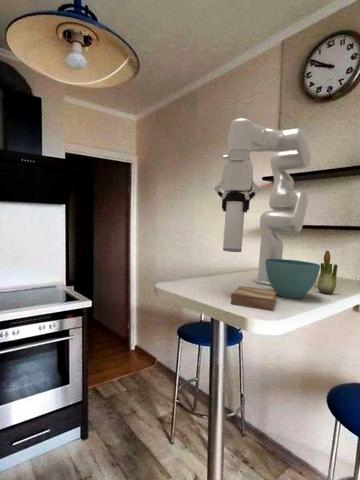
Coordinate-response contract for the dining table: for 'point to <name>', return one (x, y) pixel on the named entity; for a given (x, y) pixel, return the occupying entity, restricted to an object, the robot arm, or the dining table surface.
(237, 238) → the travel mug
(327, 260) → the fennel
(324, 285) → the fennel bulb
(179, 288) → the dining table surface
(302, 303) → the dining table surface
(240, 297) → the walnut board
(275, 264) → the teal bowl
